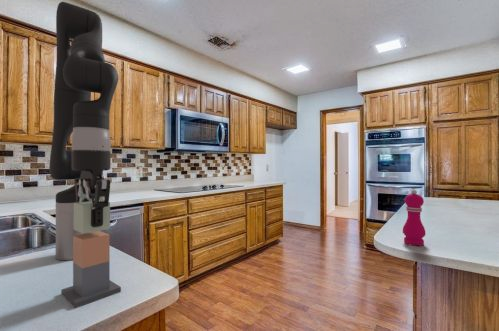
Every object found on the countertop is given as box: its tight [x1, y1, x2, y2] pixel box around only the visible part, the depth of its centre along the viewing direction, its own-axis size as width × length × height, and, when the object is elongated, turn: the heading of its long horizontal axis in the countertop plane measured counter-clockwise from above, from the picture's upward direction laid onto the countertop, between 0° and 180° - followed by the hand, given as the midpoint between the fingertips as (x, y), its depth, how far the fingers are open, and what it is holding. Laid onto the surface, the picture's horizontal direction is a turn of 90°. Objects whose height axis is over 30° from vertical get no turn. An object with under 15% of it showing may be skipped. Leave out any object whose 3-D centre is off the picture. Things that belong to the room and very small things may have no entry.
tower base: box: [60, 261, 122, 309], centre depth 60 cm, size 9×9×7 cm
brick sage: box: [74, 200, 111, 233], centre depth 60 cm, size 6×6×6 cm
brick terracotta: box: [72, 230, 111, 268], centre depth 60 cm, size 6×6×6 cm
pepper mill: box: [402, 189, 426, 246], centre depth 98 cm, size 7×7×20 cm
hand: (91, 224), depth 60 cm, fingers closed on brick sage, 5 cm apart
